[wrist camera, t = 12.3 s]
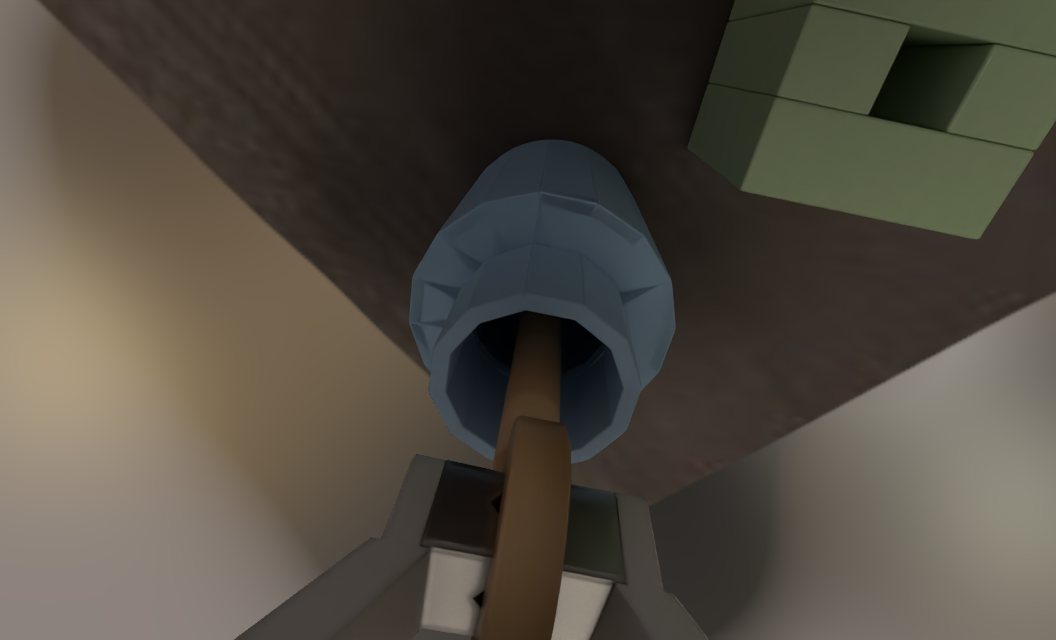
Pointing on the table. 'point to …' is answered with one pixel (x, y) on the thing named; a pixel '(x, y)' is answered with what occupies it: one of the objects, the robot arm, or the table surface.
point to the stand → (882, 105)
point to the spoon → (530, 491)
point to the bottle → (543, 294)
